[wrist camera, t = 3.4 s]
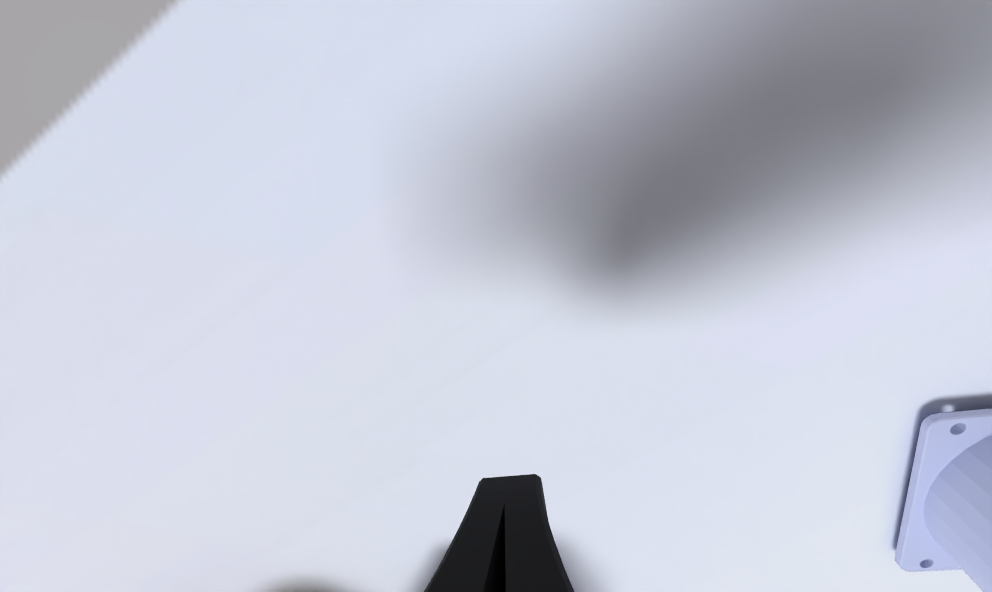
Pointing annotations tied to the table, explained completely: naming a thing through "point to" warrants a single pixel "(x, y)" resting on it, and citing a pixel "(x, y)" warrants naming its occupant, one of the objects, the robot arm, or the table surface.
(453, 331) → the table surface
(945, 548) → the robot arm
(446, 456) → the table surface
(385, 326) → the table surface
